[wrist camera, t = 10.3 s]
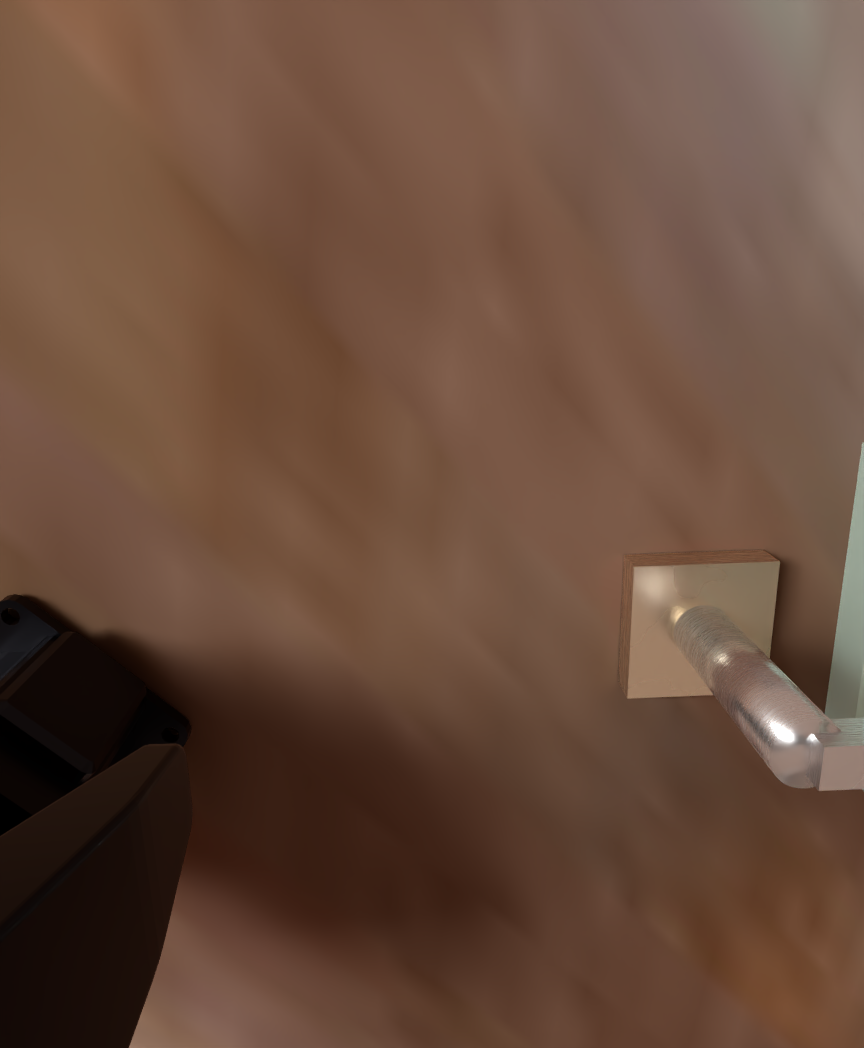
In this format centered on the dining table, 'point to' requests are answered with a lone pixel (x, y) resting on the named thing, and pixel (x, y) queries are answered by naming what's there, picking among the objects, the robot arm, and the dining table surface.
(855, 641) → the mint green frame
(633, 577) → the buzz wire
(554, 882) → the dining table surface
